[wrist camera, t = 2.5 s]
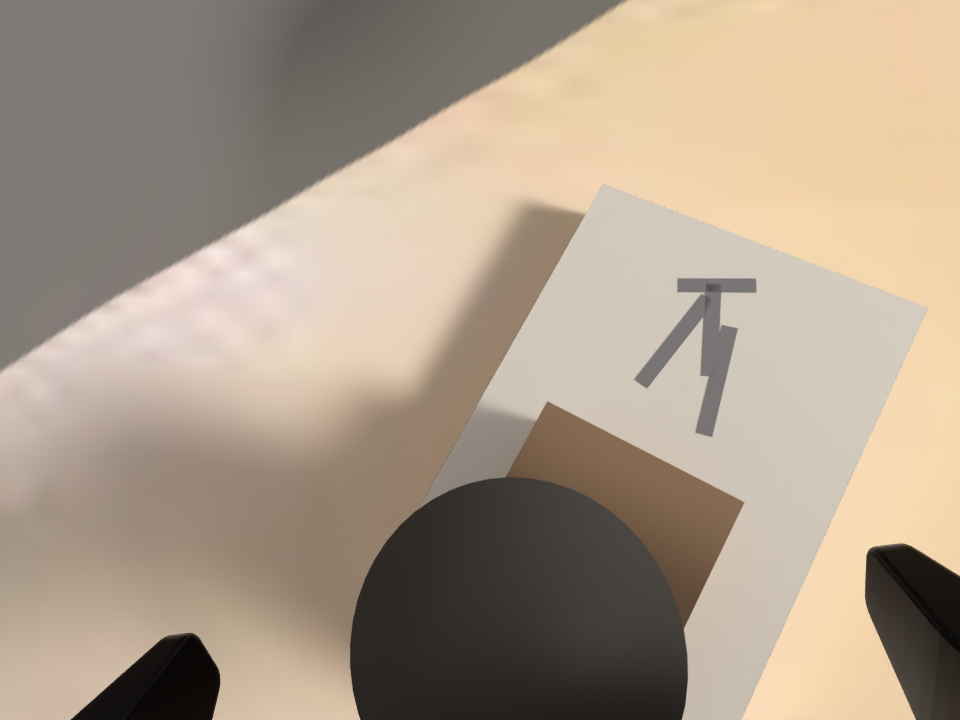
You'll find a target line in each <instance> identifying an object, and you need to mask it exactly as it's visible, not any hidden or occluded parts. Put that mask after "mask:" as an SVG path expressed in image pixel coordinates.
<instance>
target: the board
mask: <svg viewBox="0 0 960 720" xmlns="http://www.w3.org/2000/svg"><path fill="white" fill-rule="evenodd" d="M927 309H928V307H925V306H922V305H920V304H917V303H914V302H912V301H909V300H907V299H904V298H901V297H899V296H896V295H893V294H891V293H888V292H886V291H883V290H880V289H878V288H875V287H873V286H870V285H867V284H865V283H862V282H859V281H857V280H854V279H852V278H849V277H846V276H844V275H841V274H838V273H836V272H833V271H831V270H828V269H825V268H823V267H820V266H817V265H815V264H812V263H810V262H807V261H804V260H802V259H799V258H796V257H794V256H791V255H789V254H786V253H783V252H781V251H778V250H775V249H773V248H770V247H768V246H765V245H762V244H760V243H757V242H755V241H752V240H749V239H747V238H744V237H741V236H739V235H736V234H734V233H731V232H728V231H726V230H723V229H720V228H718V227H715V226H713V225H710V224H707V223H705V222H702V221H699V220H697V219H694V218H692V217H689V216H686V215H684V214H681V213H678V212H676V211H673V210H671V209H668V208H665V207H663V206H660V205H658V204H655V203H652V202H650V201H647V200H644V199H642V198H639V197H637V196H634V195H631V194H629V193H626V192H623V191H621V190H618V189H616V188H613V187H610V186H608V185H605V184H603V185H602V187H601V188H600V190H599V192H598V194H597V195H596V197H595V199H594V201H593V202H592V204H591V206H590V208H589V209H588V211H587V213H586V215H585V216H584V218H583V220H582V222H581V223H580V225H579V227H578V229H577V230H576V232H575V234H574V236H573V238H572V239H571V241H570V243H569V245H568V246H567V248H566V250H565V252H564V253H563V255H562V257H561V259H560V260H559V262H558V264H557V266H556V267H555V269H554V271H553V273H552V274H551V276H550V278H549V280H548V281H547V283H546V285H545V287H544V288H543V290H542V292H541V294H540V296H539V297H538V299H537V301H536V303H535V304H534V306H533V308H532V310H531V311H530V313H529V315H528V317H527V318H526V320H525V322H524V324H523V325H522V327H521V329H520V331H519V332H518V334H517V336H516V338H515V339H514V341H513V343H512V345H511V347H510V348H509V350H508V352H507V354H506V355H505V357H504V359H503V361H502V362H501V364H500V366H499V368H498V369H497V371H496V373H495V375H494V376H493V378H492V380H491V382H490V383H489V385H488V387H487V389H486V390H485V392H484V394H483V396H482V398H481V399H480V401H479V403H478V405H477V406H476V408H475V410H474V412H473V413H472V415H471V417H470V419H469V420H468V422H467V424H466V426H465V427H464V429H463V431H462V433H461V434H460V436H459V438H458V440H457V441H456V443H455V445H454V447H453V448H452V450H451V452H450V454H449V456H448V457H447V459H446V461H445V463H444V464H443V466H442V468H441V470H440V471H439V473H438V475H437V477H436V478H435V480H434V482H433V484H432V485H431V487H430V489H429V491H428V492H427V494H426V496H425V498H424V499H423V501H422V503H421V505H420V507H419V508H418V509H420V508H421V507H422V506H424V505H425V504H427V503H428V502H429V501H431V500H432V499H434V498H436V497H438V496H440V495H442V494H444V493H446V492H448V491H449V490H452V489H455V488H457V487H460V486H463V485H466V484H468V483H473V482H477V481H481V480H486V479H493V478H505V477H506V475H507V474H508V472H509V470H510V468H511V466H512V464H513V463H514V461H515V459H516V457H517V455H518V454H519V452H520V450H521V448H522V446H523V444H524V443H525V441H526V439H527V437H528V435H529V433H530V432H531V430H532V428H533V426H534V424H535V423H536V421H537V419H538V417H539V415H540V413H541V412H542V410H543V408H544V406H545V404H546V403H547V401H548V402H550V403H552V404H554V405H556V406H558V407H560V408H562V409H564V410H566V411H568V412H569V413H571V414H573V415H575V416H577V417H579V418H581V419H583V420H585V421H587V422H589V423H591V424H593V425H595V426H597V427H599V428H601V429H603V430H605V431H607V432H609V433H610V434H612V435H614V436H616V437H618V438H620V439H622V440H624V441H626V442H628V443H630V444H632V445H634V446H636V447H638V448H640V449H642V450H644V451H646V452H648V453H649V454H651V455H653V456H655V457H657V458H659V459H661V460H663V461H665V462H667V463H669V464H671V465H673V466H675V467H677V468H679V469H681V470H683V471H685V472H687V473H688V474H690V475H692V476H694V477H696V478H698V479H700V480H702V481H704V482H706V483H708V484H710V485H712V486H714V487H716V488H718V489H720V490H722V491H724V492H726V493H728V494H729V495H731V496H733V497H735V498H737V499H739V500H741V501H743V502H745V503H744V505H743V507H742V509H741V511H740V513H739V515H738V517H737V519H736V521H735V523H734V525H733V528H732V530H731V532H730V534H729V536H728V538H727V540H726V542H725V544H724V546H723V548H722V550H721V553H720V555H719V557H718V559H717V561H716V563H715V565H714V567H713V569H712V571H711V573H710V575H709V578H708V580H707V582H706V584H705V586H704V588H703V590H702V592H701V594H700V596H699V598H698V600H697V603H696V605H695V607H694V609H693V611H692V613H691V615H690V617H689V619H688V621H687V623H686V625H685V628H684V634H685V641H686V648H687V656H688V685H687V694H686V704H685V709H684V713H683V717H682V720H741V719H742V717H743V715H744V713H745V710H746V708H747V706H748V704H749V702H750V699H751V697H752V695H753V693H754V691H755V688H756V686H757V684H758V682H759V680H760V677H761V675H762V673H763V671H764V669H765V666H766V664H767V662H768V660H769V658H770V655H771V653H772V651H773V649H774V647H775V644H776V642H777V640H778V638H779V636H780V633H781V631H782V629H783V627H784V625H785V622H786V620H787V618H788V616H789V613H790V611H791V609H792V607H793V605H794V602H795V600H796V598H797V596H798V594H799V591H800V589H801V587H802V585H803V583H804V580H805V578H806V576H807V574H808V572H809V569H810V567H811V565H812V563H813V561H814V558H815V556H816V554H817V552H818V550H819V547H820V545H821V543H822V541H823V539H824V536H825V534H826V532H827V530H828V528H829V525H830V523H831V521H832V519H833V516H834V514H835V512H836V510H837V508H838V505H839V503H840V501H841V499H842V497H843V494H844V492H845V490H846V488H847V486H848V483H849V481H850V479H851V477H852V475H853V472H854V470H855V468H856V466H857V464H858V461H859V459H860V457H861V455H862V453H863V450H864V448H865V446H866V444H867V442H868V439H869V437H870V435H871V433H872V431H873V428H874V426H875V424H876V422H877V420H878V417H879V415H880V413H881V411H882V408H883V406H884V404H885V402H886V400H887V397H888V395H889V393H890V391H891V389H892V386H893V384H894V382H895V380H896V378H897V375H898V373H899V371H900V369H901V367H902V364H903V362H904V360H905V358H906V356H907V353H908V351H909V349H910V347H911V345H912V342H913V340H914V338H915V336H916V334H917V331H918V329H919V327H920V325H921V323H922V320H923V318H924V316H925V314H926V311H927Z"/></svg>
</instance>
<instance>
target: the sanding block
mask: <svg viewBox="0 0 960 720" xmlns="http://www.w3.org/2000/svg"><path fill="white" fill-rule="evenodd" d="M744 503H745V502H743V501H741V500H739V499H737V498H735V497H733V496H731V495H729V494H728V493H726V492H724V491H722V490H720V489H718V488H716V487H714V486H712V485H710V484H708V483H706V482H704V481H702V480H700V479H698V478H696V477H694V476H692V475H690V474H688V473H687V472H685V471H683V470H681V469H679V468H677V467H675V466H673V465H671V464H669V463H667V462H665V461H663V460H661V459H659V458H657V457H655V456H653V455H651V454H649V453H648V452H646V451H644V450H642V449H640V448H638V447H636V446H634V445H632V444H630V443H628V442H626V441H624V440H622V439H620V438H618V437H616V436H614V435H612V434H610V433H609V432H607V431H605V430H603V429H601V428H599V427H597V426H595V425H593V424H591V423H589V422H587V421H585V420H583V419H581V418H579V417H577V416H575V415H573V414H571V413H569V412H568V411H566V410H564V409H562V408H560V407H558V406H556V405H554V404H552V403H550V402H548V401H547V403H546V404H545V406H544V408H543V410H542V412H541V413H540V415H539V417H538V419H537V421H536V423H535V424H534V426H533V428H532V430H531V432H530V433H529V435H528V437H527V439H526V441H525V443H524V444H523V446H522V448H521V450H520V452H519V454H518V455H517V457H516V459H515V461H514V463H513V464H512V466H511V468H510V470H509V472H508V474H507V475H506V477H505V478H493V479H486V480H481V481H477V482H473V483H468V484H466V485H463V486H460V487H457V488H455V489H452V490H449V491H448V492H446V493H444V494H442V495H440V496H438V497H436V498H434V499H432V500H431V501H429V502H428V503H427V504H425V505H424V506H422V507H421V508H420V509H418V510H417V511H415V512H414V513H413V514H412V515H411V516H410V517H409V518H408V519H407V520H406V521H404V522H403V523H402V524H401V525H400V526H399V527H398V529H397V530H396V531H395V532H394V533H393V534H392V536H391V537H390V538H389V539H388V540H387V542H386V543H385V545H384V546H383V548H382V549H381V551H380V552H379V554H378V555H377V557H376V558H375V560H374V562H373V564H372V566H371V568H370V570H369V572H368V574H367V576H366V578H365V581H364V584H363V587H362V589H361V592H360V595H359V598H358V601H357V606H356V610H355V614H354V619H353V625H352V634H351V642H350V668H351V677H352V686H353V693H354V697H355V701H356V705H357V710H358V714H359V717H360V720H682V717H683V713H684V709H685V704H686V694H687V685H688V656H687V648H686V641H685V634H684V628H685V625H686V623H687V621H688V619H689V617H690V615H691V613H692V611H693V609H694V607H695V605H696V603H697V600H698V598H699V596H700V594H701V592H702V590H703V588H704V586H705V584H706V582H707V580H708V578H709V575H710V573H711V571H712V569H713V567H714V565H715V563H716V561H717V559H718V557H719V555H720V553H721V550H722V548H723V546H724V544H725V542H726V540H727V538H728V536H729V534H730V532H731V530H732V528H733V525H734V523H735V521H736V519H737V517H738V515H739V513H740V511H741V509H742V507H743V505H744Z"/></svg>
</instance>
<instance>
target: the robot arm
mask: <svg viewBox="0 0 960 720" xmlns="http://www.w3.org/2000/svg"><path fill="white" fill-rule="evenodd" d="M865 600H866V605H867V609H868V612H869V614H870V617H871V619H872V622H873V624H874V626H875V628H876V631H877V633H878V635H879V637H880V640H881V642H882V644H883V646H884V649H885V651H886V653H887V655H888V658H889V660H890V662H891V664H892V667H893V669H894V671H895V673H896V676H897V678H898V680H899V682H900V685H901V687H902V689H903V691H904V694H905V696H906V698H907V700H908V703H909V705H910V707H911V709H912V712H913V714H914V716H915V718H916V720H960V576H959V575H957V574H956V573H954V572H952V571H951V570H949V569H948V568H946V567H944V566H943V565H941V564H940V563H938V562H936V561H935V560H933V559H931V558H930V557H928V556H927V555H925V554H923V553H922V552H920V551H919V550H917V549H915V548H914V547H912V546H909V545H907V544H892V545H884V546H876V547H872V548H870V549H869V551H868V552H867V557H866V579H865ZM219 689H220V673H219V669H218V667H217V666H216V664H215V662H214V661H213V659H212V658H211V656H210V654H209V653H208V651H207V649H206V648H205V646H204V645H203V643H202V641H201V640H200V638H199V637H198V636H197V635H195V634H193V633H185V634H177V635H170V636H167V637H165V638H163V639H161V640H160V641H159V642H158V643H157V644H156V645H154V646H153V647H152V648H151V649H150V650H149V651H148V652H147V653H145V654H144V655H143V656H142V657H141V658H140V659H139V660H137V661H136V662H135V663H134V664H133V665H132V666H131V667H130V668H128V669H127V670H126V671H125V672H124V673H123V674H122V675H121V676H119V677H118V678H117V679H116V680H115V681H114V682H113V683H112V684H110V685H109V686H108V687H107V688H106V689H105V690H104V691H103V692H101V693H100V694H99V695H98V696H97V697H96V698H95V699H93V700H92V701H91V702H90V703H89V704H88V705H87V706H86V707H84V708H83V709H82V710H81V711H80V712H79V713H78V714H77V715H75V716H74V717H73V718H72V719H71V720H212V718H213V714H214V710H215V706H216V702H217V697H218V693H219Z"/></svg>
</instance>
